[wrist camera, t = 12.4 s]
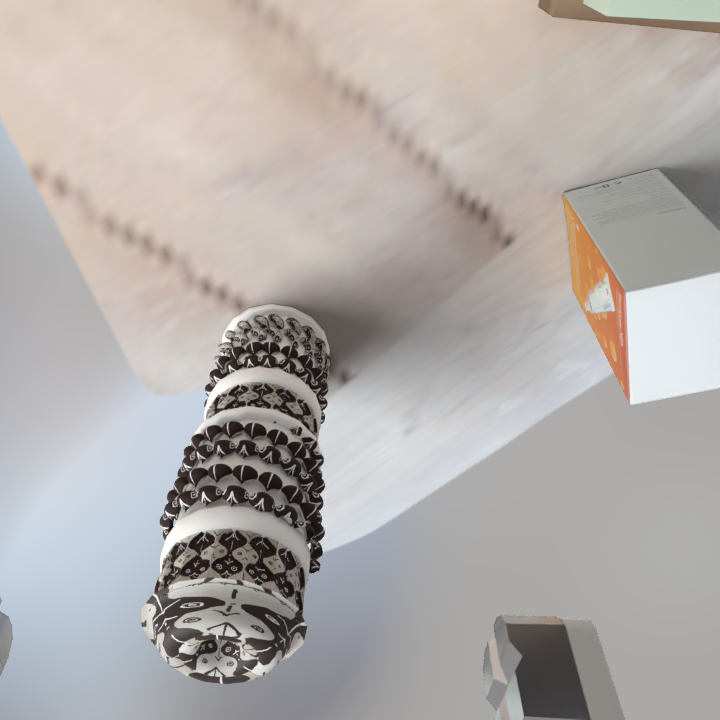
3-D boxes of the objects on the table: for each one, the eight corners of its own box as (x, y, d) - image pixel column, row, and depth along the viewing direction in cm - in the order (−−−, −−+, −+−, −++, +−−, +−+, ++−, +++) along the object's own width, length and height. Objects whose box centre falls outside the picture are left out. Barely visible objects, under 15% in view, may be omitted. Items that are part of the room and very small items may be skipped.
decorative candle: (359, 348, 51) (358, 655, 30) (283, 412, 55) (237, 722, 34) (268, 276, 47) (198, 573, 27) (194, 351, 51) (84, 658, 31)
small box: (559, 191, 43) (623, 291, 32) (659, 165, 42) (757, 260, 31) (570, 292, 48) (629, 408, 37) (660, 272, 47) (746, 385, 36)
